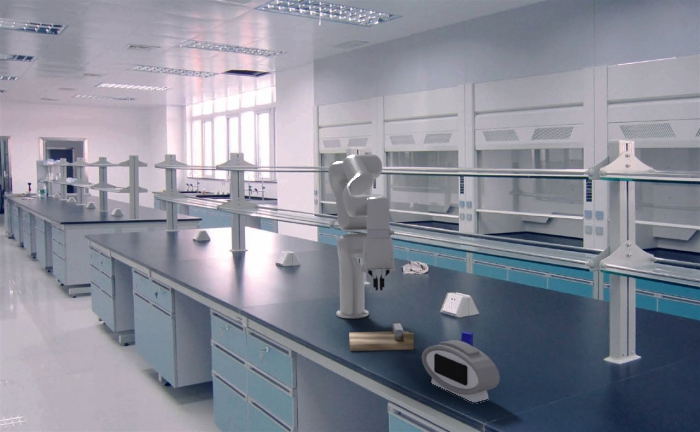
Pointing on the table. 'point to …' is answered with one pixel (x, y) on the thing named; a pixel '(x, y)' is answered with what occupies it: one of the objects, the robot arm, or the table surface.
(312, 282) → the table surface
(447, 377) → the alarm clock
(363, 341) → the stool seat
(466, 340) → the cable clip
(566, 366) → the table surface
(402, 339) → the folding leg
